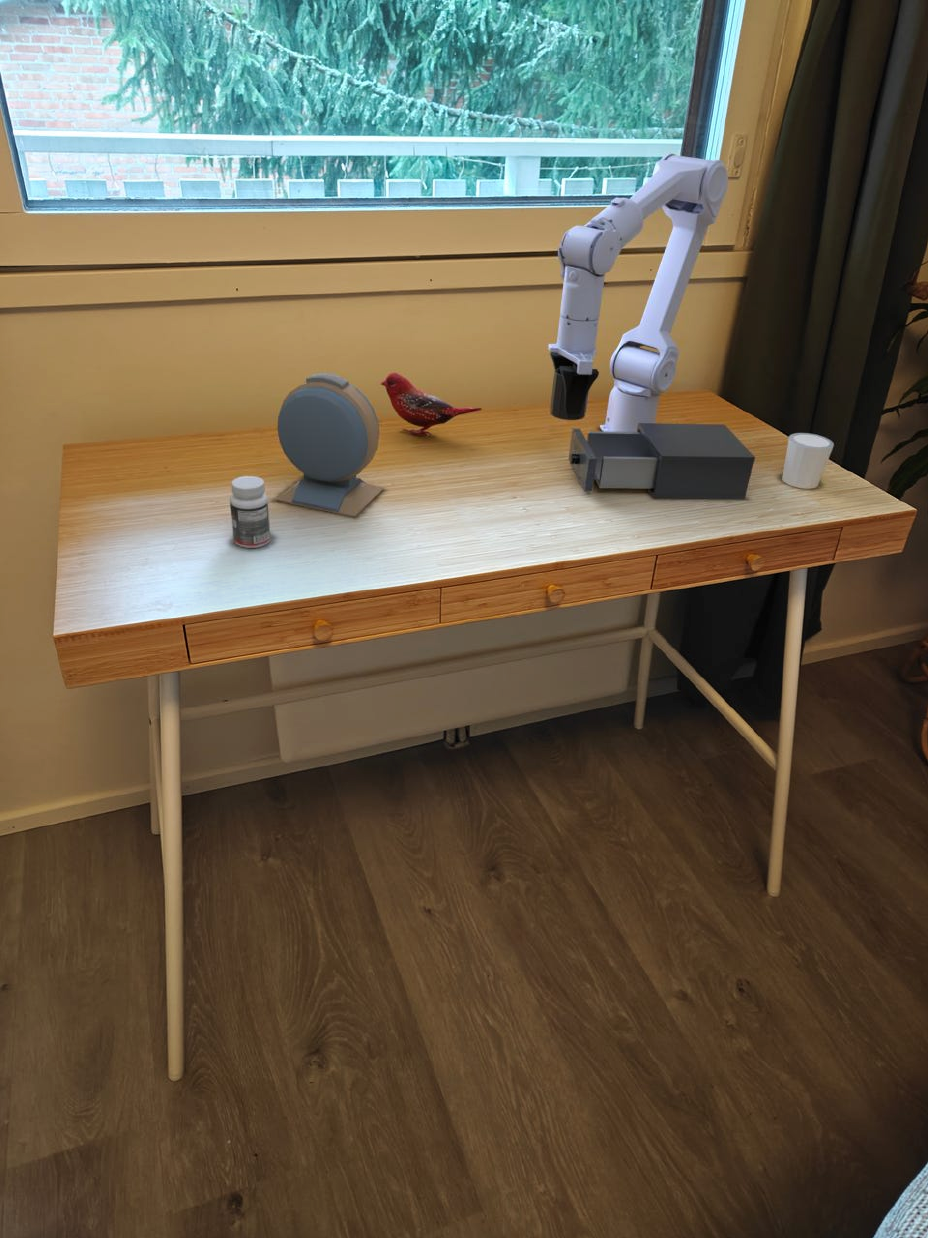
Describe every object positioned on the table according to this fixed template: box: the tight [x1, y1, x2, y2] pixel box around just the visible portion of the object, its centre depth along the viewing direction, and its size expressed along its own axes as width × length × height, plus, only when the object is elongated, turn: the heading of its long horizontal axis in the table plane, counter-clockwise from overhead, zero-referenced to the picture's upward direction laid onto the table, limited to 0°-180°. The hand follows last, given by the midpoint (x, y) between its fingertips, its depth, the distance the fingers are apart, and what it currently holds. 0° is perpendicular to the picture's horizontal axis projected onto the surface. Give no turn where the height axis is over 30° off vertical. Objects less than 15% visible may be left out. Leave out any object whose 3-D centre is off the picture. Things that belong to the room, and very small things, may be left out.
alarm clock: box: [275, 372, 384, 518], centre depth 125 cm, size 14×10×18 cm
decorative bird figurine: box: [380, 372, 483, 436], centre depth 148 cm, size 3×18×10 cm, turn 74°
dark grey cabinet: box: [637, 422, 756, 500], centre depth 140 cm, size 14×13×7 cm
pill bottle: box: [229, 475, 271, 549], centre depth 115 cm, size 5×5×8 cm
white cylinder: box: [781, 432, 835, 490], centre depth 142 cm, size 7×7×7 cm
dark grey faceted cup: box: [549, 368, 590, 421], centre depth 136 cm, size 5×5×6 cm
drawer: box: [568, 428, 660, 492], centre depth 138 cm, size 15×12×5 cm
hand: (568, 406), depth 138 cm, fingers closed on dark grey faceted cup, 5 cm apart
